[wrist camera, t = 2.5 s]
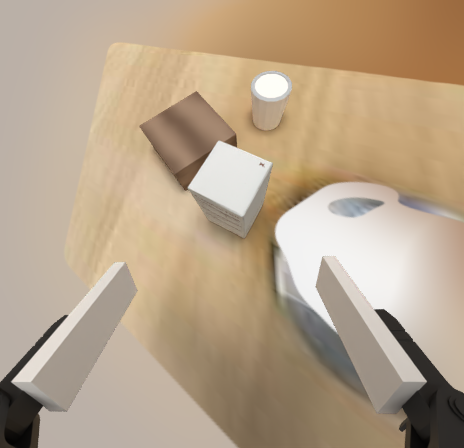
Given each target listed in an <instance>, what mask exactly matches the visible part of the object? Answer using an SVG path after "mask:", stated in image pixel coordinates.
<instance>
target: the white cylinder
mask: <svg viewBox="0 0 464 448" xmlns="http://www.w3.org/2000/svg"><path fill="white" fill-rule="evenodd" d="M291 90H292V82H291V81H290V79H289V77H288V76H286V75H285V74H283V73H281V72H277V71H266V72H263V73H260V74H259V75H258V76H256V77H255V78H254V80H253V81H252V83H251V96H252V114H253V123H254V125H255V126H256V127H257V128H258V129H261V130H272V129H275V128H276V127H277V126H278V125H279V123H280V121H281V118H282V115H283V113H284V110H285V107H286V104H287V101H288V98H289V96H290V93H291Z"/></svg>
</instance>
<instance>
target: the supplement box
mask: <svg viewBox="0 0 464 448" xmlns="http://www.w3.org/2000/svg"><path fill="white" fill-rule="evenodd" d="M272 165H273V163H271V162H269V161H266V160H264V159H262V158H260V157H257V156H255V155H252V154H250V153H248V152H245V151H243V150H241V149H238V148H236V147H234V146H231V145H229V144H227V143H224V142H222V141H218V142H217V143H216V145H215V147H214V148H213V150H212V151H211V153H210V154H209V156H208V157H207V159H206V160H205V162H204V163H203V165H202V166H201V168H200V170H199V171H198V173H197V174H196V176H195V177H194V179H193V180H192V182H191V183H190V185H189V186H188V189H189V191H190V192H191V194H192V195H193V197H194V198H195V200H196V201H197V203H198V204H199V206H200V208H201V209H202V211H203V212H204V214H205V215H206V217H207V219H208V220H209V221H211V222H213V223H215V224H217V225H219V226H221V227H223V228H225V229H227V230H229V231H231V232H233V233H235V234H236V235H238V236H240V237H242V238H245V237H246V235H247V233H248V232H249V230H250V228H251V226H252V224H253V223H254V221H255V219H256V217H257V215H258V213H259V211H260V209H261V207H262V206H263V202H264V198H265V194H266V190H267V186H268V182H269V178H270V174H271V169H272Z"/></svg>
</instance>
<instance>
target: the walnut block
mask: <svg viewBox="0 0 464 448" xmlns="http://www.w3.org/2000/svg"><path fill="white" fill-rule="evenodd" d="M139 127H140V128H141V129H142V131H143V132H144V134H145V135H146V137H147V138H148V139H149V141H150V142H151V144H152V145H153V147H154V148H155V149H156V151H157V152H158V154H159V155H160V156H161V158H162V159H163V160H164V162H165V163H166V164H167V166H168V167H169V169H170V170H171V171H172V173H173V174H174V175H175V177H176V178H177V180H178V181H179V182H180V184H181V185H182V186H183V188H184V189H185V190H187V189H188V186H189V185H190V183H191V182H192V180H193V179H194V177H195V176H196V174H197V173H198V171H199V170H200V168H201V166H202V165H203V163H204V162H205V160H206V159H207V157H208V156H209V154H210V153H211V151H212V150H213V148H214V147H215V145H216V143H217V142H218V141H222V142H224V143H227V144H229V145H231V146H234V147H236V148H237V140H236V133H235V132H234V131H233V130H232V129H231V128H230V127H229V126H228V124H227V123H226V122H225V121H224V120H223V119H222V118H221V117H220V116H219V115H218V114H217V113H216V112H215V111H214V109H213V108H212V107H211V106H210V105H209V104H208V103H207V102H206V101H205V100H204V99H203V98H202V97H201V96H200V94H199V93H198V92H197V91H196V92H194V93H193V94H191V95H189V96H188V97H186V98H185V99H183V100H181V101H180V102H178V103H176V104H175V105H173V106H171V107H170V108H168V109H166V110H165V111H163V112H161V113H160V114H158V115H156V116H155V117H153V118H152V119H150V120H148V121H147V122H145V123H143V124H142V125H140V126H139Z"/></svg>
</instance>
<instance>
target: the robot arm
mask: <svg viewBox="0 0 464 448" xmlns="http://www.w3.org/2000/svg"><path fill="white" fill-rule="evenodd" d="M316 288H317V290H318V293H319V295H320V297H321V299H322V301H323V303H324V305H325V307H326V309H327V311H328V313H329V315H330V317H331V319H332V322H333V323H334V326H335V328H336V330H337V332H338V334H339V336H340V338H341V340H342V342H343V344H344V346H345V349H346V351H347V353H348V355H349V357H350V359H351V361H352V363H353V365H354V367H355V369H356V371H357V373H358V375H359V378H360V380H361V382H362V384H363V386H364V388H365V390H366V392H367V394H368V396H369V398H370V400H371V402H372V404H373V407H374V409H375V411H376V413H383V414H396V413H397V412H398V411H399V410H400V409H401V408H403V410H404V412H405V413H406V415H407V417H408V418H407V419H406V420H405V421H403V422H402V423H401V425H400V427H399V430H400V431H402V432H403V431H404V430H405V429H406V436H405V448H464V393H463V392H460V391H458V390H456V389H454V388H453V387H452V386H451V385H450V384H449V383H448V382H447V381H446V380H445V379H444V377H443V376H442V375H441V374H440V373H439V371H438V370H437V369H436V368H435V366H434V365H433V364H432V363H431V361H430V360H429V359H428V358H427V356H426V355H425V354H424V353H423V352H422V350H421V349H420V348H419V347H418V345H417V344H416V343H415V342H413V339H412V338H411V337H410V336H409V334H408V333H407V332H405V329H404V328H403V327H402V326H401V324H400V323H399V322H398V321H397V319H396V318H394V317H393V316H392V315H391V314H389V313H388V312H387V311H385V310H384V309H376V310H375V309H373V308H372V306H371V305H370V303H369V302H368V301H367V300H366V298H365V297H364V295H363V294H362V293H361V291H360V290H359V288H358V287H357V286H356V284H355V283H354V282H353V280H352V279H351V278H350V276H349V275H348V273H347V272H346V271H345V269H344V268H343V267H342V265H341V264H340V263H339V261H338V260H337V259H336V257H335V256H323V257H322V261H321V266H320V270H319V275H318V279H317V283H316ZM137 291H138V290H137V288H136V286H135V283H134V281H133V279H132V276H131V274H130V272H129V269H128V267H127V264H126V262H114V264H113V265H112V266H111V267H110V268H109V269H108V271H107V272H106V273H105V274H104V275H103V276H102V277H101V279H100V280H99V281H98V282H97V283H96V284H95V286H94V287H93V288H92V289H91V290H90V291H89V293H88V294H87V295H86V296H85V297H84V298H83V299H82V301H81V302H80V303H79V304H78V305H77V306H76V308H75V309H74V310H73V311H72V312H71V313H70V315H64V316H63V317H62V318H60V319H59V320H58V321H57V322H55V323H54V324H53V325H52V326H51V327H50V328H49V329H48V330H47V331H46V332H45V334H44V335H43V337H41V338H40V339H39V340H38V341H37V342H36V344H35V346H33V347H32V348H31V349H30V350H29V351H28V352H27V354H26V355H25V356H24V357H23V358H22V359H21V360H20V361H19V362H18V364H17V365H16V366H15V367H14V368H13V369H12V370H11V371H10V372H9V373H8V374H7V376H6V377H5V378H4V379H3V380H2V381H1V382H0V448H38V438H39V424H40V417H39V414H38V412H39V411H40V409H41V408H42V407H43V406H44V407H45V408H46V409H48V410H49V411H64V412H65V411H66V412H67V411H68V409H69V407H70V405H71V404H72V402H73V400H74V399H75V397H76V395H77V393H78V392H79V390H80V388H81V387H82V385H83V383H84V381H85V380H86V378H87V376H88V375H89V373H90V371H91V370H92V368H93V366H94V364H95V363H96V361H97V359H98V357H99V356H100V354H101V352H102V351H103V349H104V347H105V345H106V344H107V342H108V340H109V339H110V337H111V335H112V333H113V332H114V330H115V328H116V326H117V325H118V323H119V322H120V320H121V318H122V316H123V315H124V313H125V311H126V310H127V308H128V306H129V304H130V303H131V301H132V299H133V298H134V296H135V294H136V292H137Z"/></svg>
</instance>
